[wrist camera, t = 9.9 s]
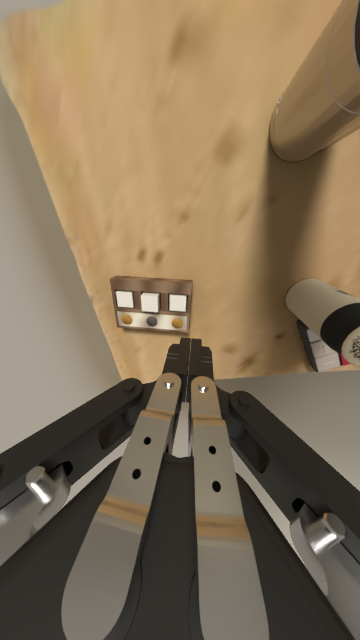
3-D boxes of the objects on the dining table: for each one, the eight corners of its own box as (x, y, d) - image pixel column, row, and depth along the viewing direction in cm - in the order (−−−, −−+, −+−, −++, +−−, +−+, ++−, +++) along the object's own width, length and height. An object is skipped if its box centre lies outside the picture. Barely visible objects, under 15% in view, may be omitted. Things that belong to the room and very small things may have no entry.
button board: (192, 280, 40) (191, 284, 37) (189, 326, 45) (188, 333, 42) (115, 275, 41) (109, 279, 38) (121, 321, 46) (116, 327, 43)
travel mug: (297, 319, 41) (358, 376, 26) (277, 296, 39) (329, 344, 24) (332, 296, 38) (426, 346, 22) (312, 270, 36) (400, 305, 20)
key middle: (159, 292, 40) (157, 296, 37) (160, 307, 41) (157, 312, 39) (143, 291, 40) (140, 295, 38) (144, 306, 41) (141, 311, 39)
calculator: (317, 375, 44) (305, 330, 38) (308, 362, 48) (295, 320, 42) (369, 360, 41) (365, 309, 35) (355, 348, 45) (349, 300, 39)
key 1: (135, 289, 41) (131, 292, 39) (136, 303, 43) (133, 307, 41) (120, 288, 41) (115, 291, 39) (122, 302, 43) (117, 306, 41)
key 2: (187, 292, 40) (186, 296, 38) (186, 307, 42) (185, 311, 40) (171, 291, 41) (169, 295, 38) (171, 305, 42) (169, 310, 40)
